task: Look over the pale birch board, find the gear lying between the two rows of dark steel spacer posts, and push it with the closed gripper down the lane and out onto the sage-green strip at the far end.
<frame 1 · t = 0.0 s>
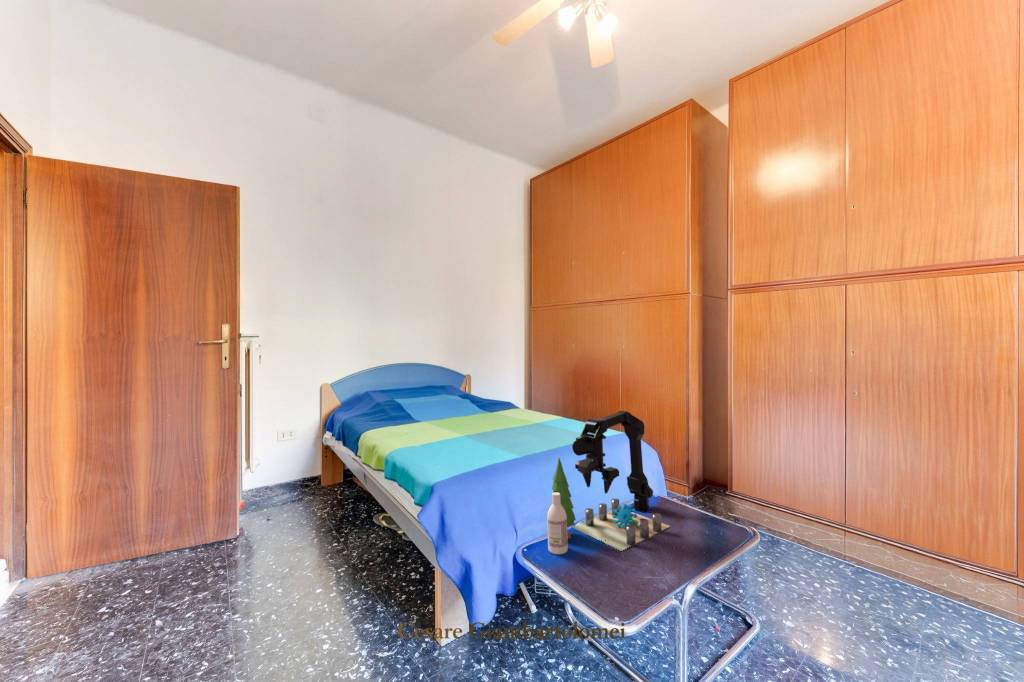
hand: (597, 490, 158), 15 cm above the table, tool pointing down, fingers open, 9 cm apart
decorative tree: (564, 536, 150), on the table
gear: (626, 526, 157), resting on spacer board
spacer posts: (622, 528, 155), resting on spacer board
bath foam: (558, 550, 140), on the table
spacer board: (620, 527, 156), on the table
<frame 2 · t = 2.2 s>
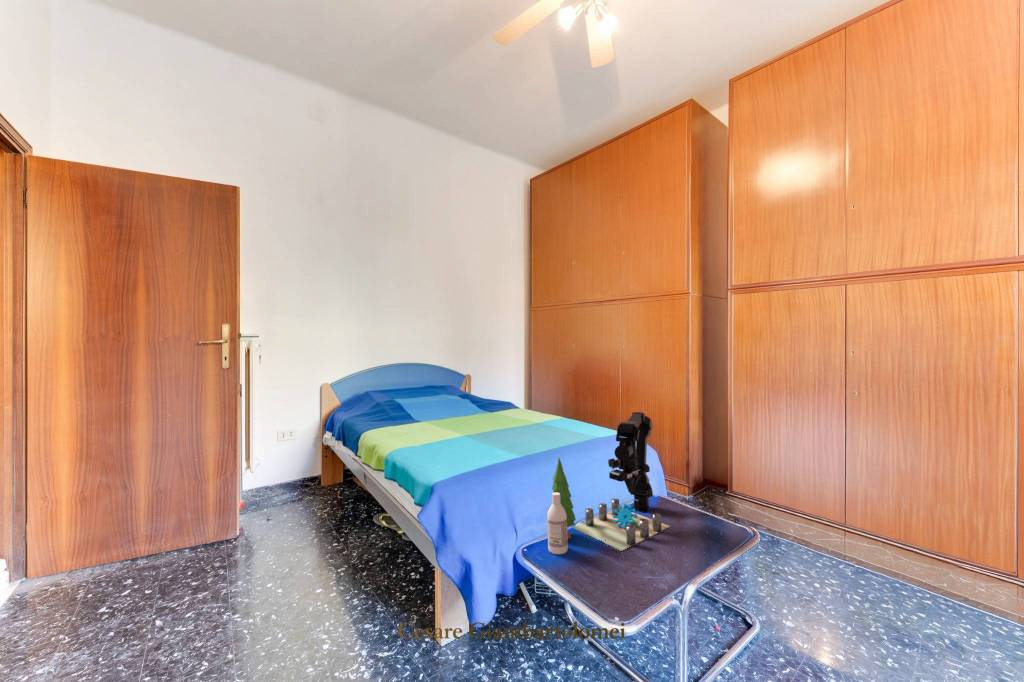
hand: (630, 492, 159), 13 cm above the table, tool pointing down, fingers closed
nothing on the table moved.
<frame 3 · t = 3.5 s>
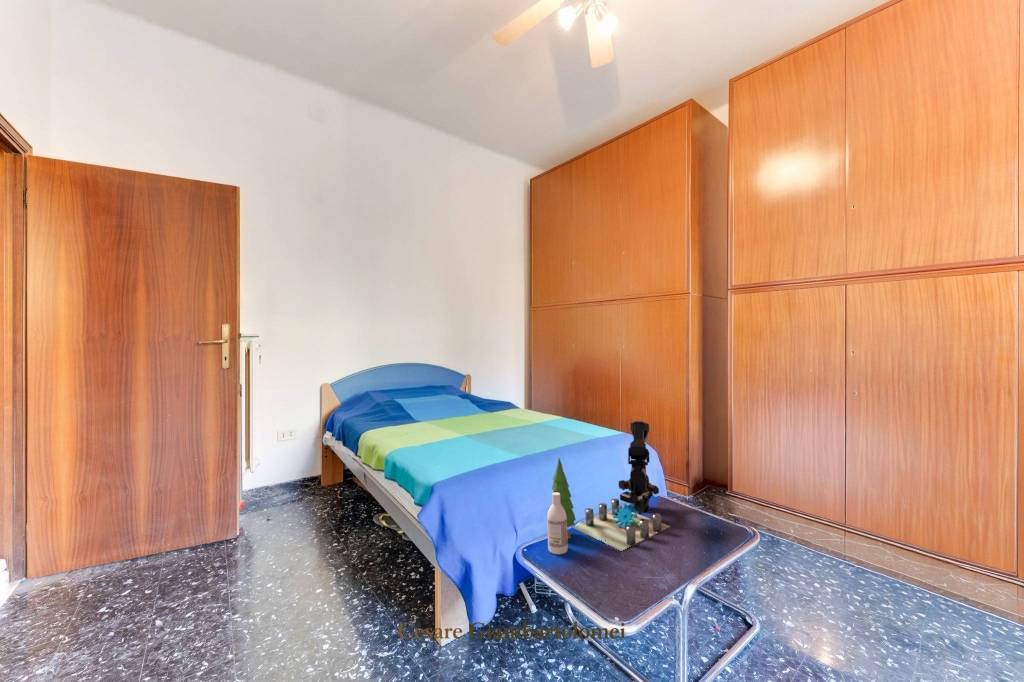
hand: (640, 514, 162), 3 cm above the table, tool pointing down, fingers closed
nothing on the table moved.
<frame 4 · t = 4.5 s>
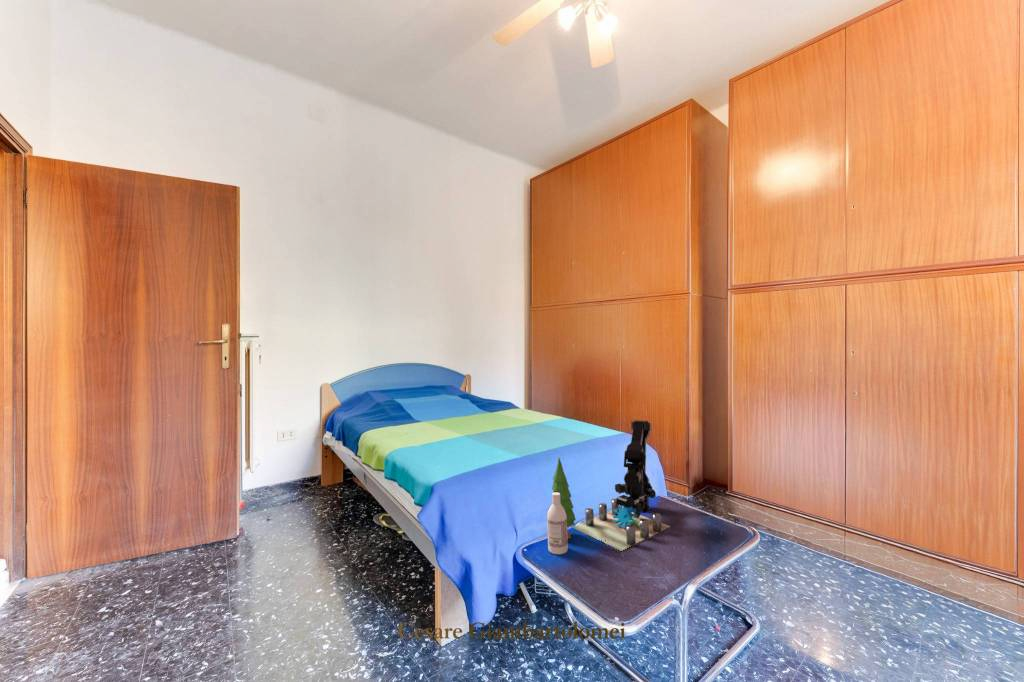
hand: (637, 518, 161), 2 cm above the table, tool pointing down, fingers closed
gear: (626, 526, 157), resting on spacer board, touching gripper
everything else where it was.
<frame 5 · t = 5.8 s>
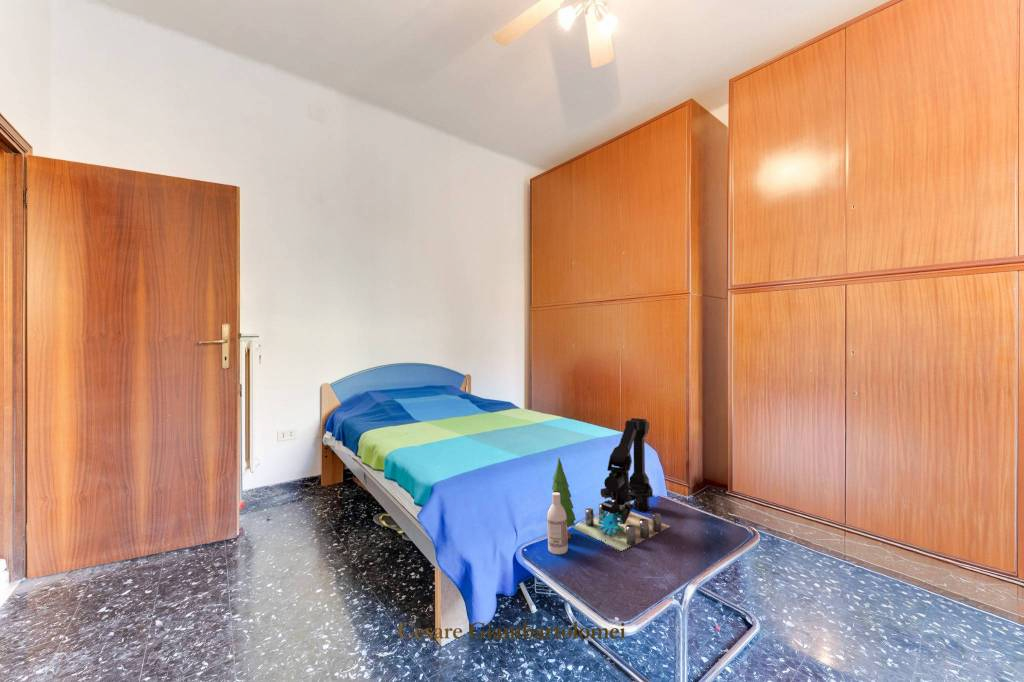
hand: (623, 523, 156), 2 cm above the table, tool pointing down, fingers closed
gear: (611, 533, 151), resting on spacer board, touching gripper
everything else where it was.
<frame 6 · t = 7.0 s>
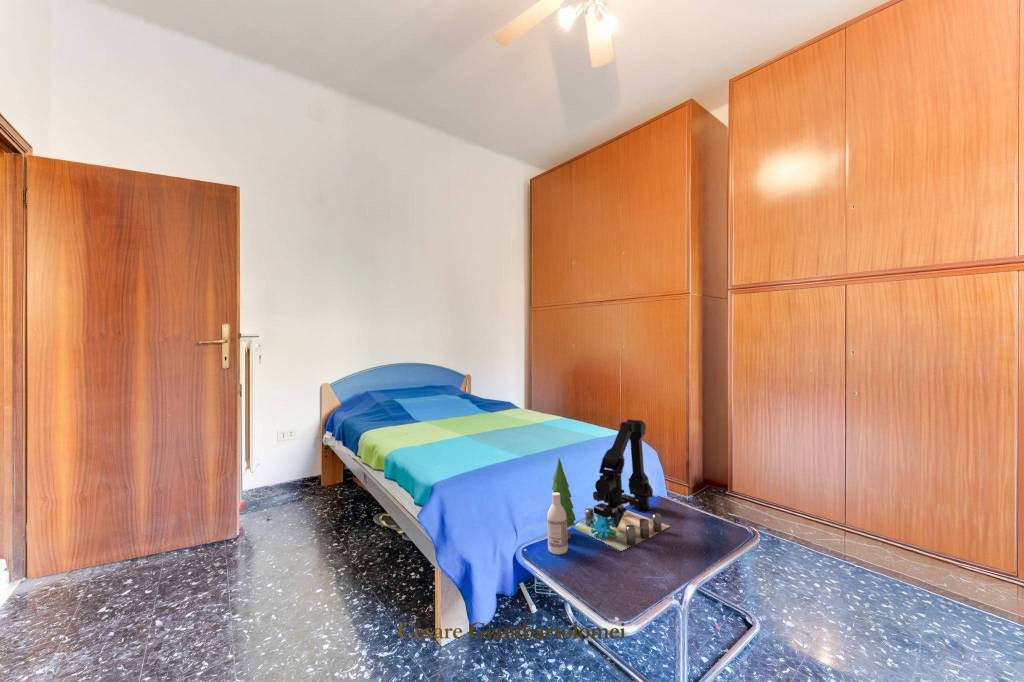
hand: (616, 527, 153), 2 cm above the table, tool pointing down, fingers closed
gear: (604, 536, 149), resting on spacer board, touching gripper
everything else where it was.
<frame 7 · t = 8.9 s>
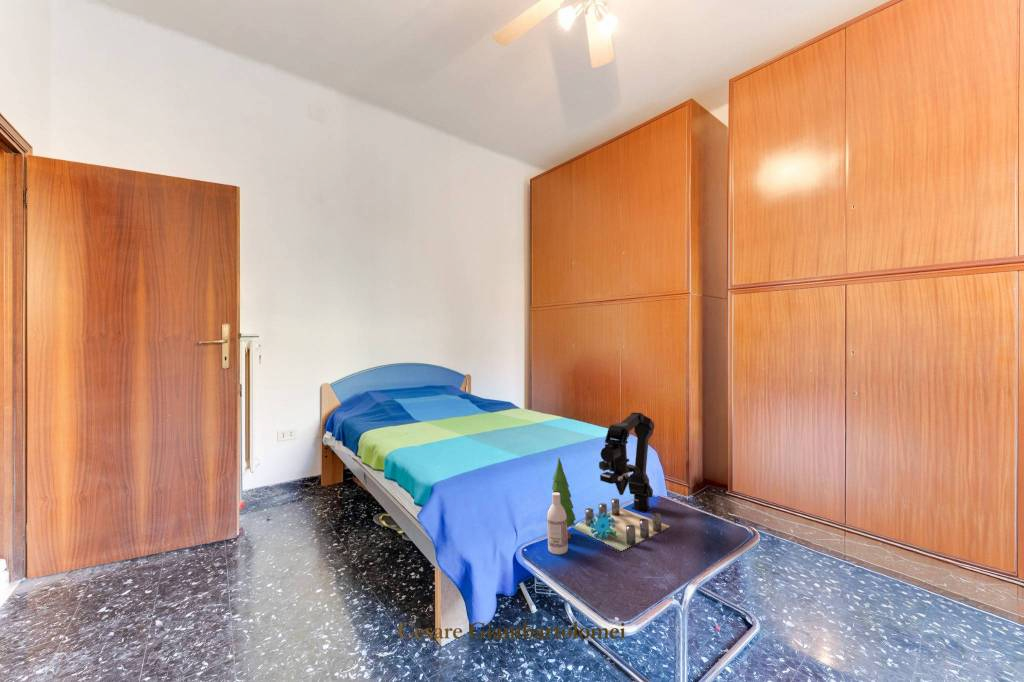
hand: (621, 494, 160), 12 cm above the table, tool pointing down, fingers closed
gear: (604, 536, 149), resting on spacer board
everything else where it was.
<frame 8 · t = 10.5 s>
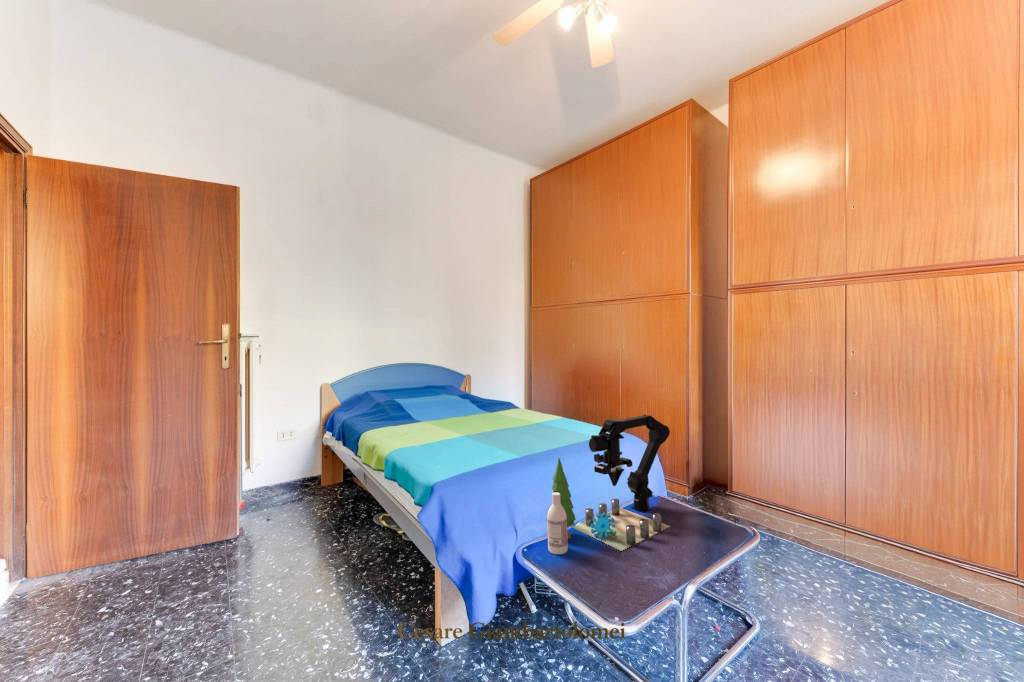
hand: (614, 485, 170), 12 cm above the table, tool pointing down, fingers closed
nothing on the table moved.
at the end: gear inside the target area (1.0 cm from its centre), resting on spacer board; gear moved 13.0 cm from its start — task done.
